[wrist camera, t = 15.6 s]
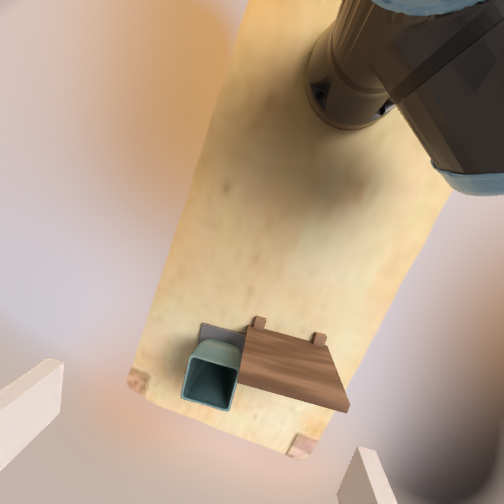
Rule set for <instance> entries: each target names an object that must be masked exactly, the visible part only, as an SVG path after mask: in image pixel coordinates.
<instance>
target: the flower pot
mask: <svg viewBox="0 0 504 504" xmlns="http://www.w3.org/2000/svg"><path fill="white" fill-rule="evenodd" d="M240 363H241V352H240V350H239V348H238V347H237V346H235V345H233V344H229V343H226V342H222V341H219V340H215V339H206V340H204V341H202V342H201V343H200V344H199V345H198V346H197V347H196V349H195V350H194V351H193V352H192V354H191V355H190V356H189V359H188V364H187V369H186V373H185V378H184V382H183V387H182V391H181V398H183V399H185V400H188V401H192V402H196V403H199V404H203V405H206V406H209V407H212V408H216V409H219V410H222V411H230V408H231V404H232V400H233V396H234V392H235V389H236V385H237V378H238V373H239V368H240Z"/></svg>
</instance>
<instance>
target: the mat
mask: <svg viewBox="0 0 504 504" xmlns="http://www.w3.org/2000/svg"><path fill="white" fill-rule="evenodd" d="M245 338H246V334H242V333H239V332H235V331H231V330H228V329H224V328H220V327H217V326H213V325H209V324H206V323H203V324H202V327H201V332H200V336H199V340H198V345H199V344H200V343H201V342H202V341H204V340H206V339H215V340H219V341H222V342H226V343H229V344H233V345H235V346H237V347H238V348H239V350H240V352H241V358H242V353H243V348H244V343H245ZM198 345H197V346H198Z"/></svg>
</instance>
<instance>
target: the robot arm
mask: <svg viewBox="0 0 504 504" xmlns="http://www.w3.org/2000/svg"><path fill="white" fill-rule="evenodd" d="M306 89H307V95H308V98H309V101H310V104H311V106H312V108H313V109H314V111H315V112H316V114H317V115H318V116H319V117H320V118H321V119H322V120H323V121H325V122H326V123H328V124H329V125H331V126H333V127H336V128H340V129H346V130H354V129H360V128H364V127H367V126H369V125H372V124H374V123H375V122H377V121H378V120H380V119H381V118H383V117H384V116H385V115H386V114H387V113H389V112H390V111H391V110H392V109H393V108H394V107H395V106H396V107H397V108H398V110H399V111H400V113H401V114H402V116H403V117H404V119H405V120H406V122H407V123H408V125H409V126H410V128H411V129H412V131H413V132H414V134H415V135H416V137H417V138H418V140H419V141H420V143H421V144H422V146H423V147H424V149H425V150H426V152H427V153H428V155H429V156H430V158H431V164H432V166H433V168H434V169H436V170H437V171H438V172H439V173H441V175H442V176H443V177H444V179H445V180H446V181H447V183H448V184H449V185H450V186H451V187H452V188H453V189H455V190H457V191H458V192H461V193H463V194H466V195H472V196H498V195H504V0H342V2H341V5H340V8H339V11H338V14H337V17H336V20H335V21H334V22H333V23H332V24H331V25H330V26H329V27H328V28H327V29H326V30H325V32H324V33H323V34H322V36H321V37H320V38H319V40H318V42H317V43H316V45H315V47H314V50H313V52H312V55H311V58H310V61H309V65H308V69H307V75H306ZM63 372H64V362H61V361H58V360H54V359H51V358H47V359H45V360H44V361H42V362H41V363H39V364H38V365H37V366H35V367H34V368H32V369H31V370H29V371H28V372H26V373H25V374H23V375H22V376H20V377H19V378H18V379H16V380H14V381H13V382H12V383H10V384H9V385H7V386H6V387H4V388H3V389H1V390H0V471H1V470H2V469H3V468H4V467H5V466H6V465H7V464H8V463H9V462H10V461H11V460H12V459H13V458H14V457H15V456H16V455H17V454H18V453H19V452H20V451H21V450H22V449H23V448H24V447H26V446H27V445H28V444H29V443H30V442H31V441H32V440H33V438H35V437H36V436H37V435H38V434H39V432H41V431H42V430H43V429H44V428H45V427H46V426H47V425H48V424H49V423H50V422H51V421H52V420H53V419H54V418H55V417H56V416H57V415H58V414H59V413H60V405H61V395H62V383H63ZM337 496H338V502H339V504H397V501H396V499H395V497H394V494H393V492H392V490H391V487H390V485H389V482H388V480H387V478H386V475H385V473H384V470H383V468H382V466H381V464H380V461H379V459H378V456H377V454H376V451H374V450H370V449H367V448H363V447H360V446H357V448H356V450H355V453H354V455H353V457H352V460H351V462H350V464H349V467H348V469H347V471H346V474H345V476H344V478H343V481H342V483H341V485H340V488H339V490H338V492H337Z"/></svg>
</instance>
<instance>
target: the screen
mask: <svg viewBox="0 0 504 504" xmlns="http://www.w3.org/2000/svg"><path fill="white" fill-rule="evenodd" d="M265 323H266V318H262V317H259V316H256V319H255V322H254V326H252V325H248V329H247V333H246V338H245V343H244V348H243V353H242V358H241V363H240V368H239V373H238V378H237V383H240V384H244V385H247V386H251V387H254V388H258V389H261V390H265V391H268V392H272V393H276V394H279V395H283V396H286V397H290V398H293V399H297V400H301V401H304V402H308V403H311V404H315V405H318V406H322V407H325V408H329V409H333V410H336V411H340V412H344V413H347V411H348V409H349V406H350V403H349V401H348V398H347V396H346V393H345V390H344V388H343V385H342V383H341V380H340V377H339V375H338V372H337V370H336V367H335V365H334V362H333V359H332V357H331V354H330V352H329V349H328V347H327V346H325V345H324V344H325V342H326V339H327V336H326V335H325V334H321V333H318V332H316V333H315V336H314V339H313V342H311V341H307V340H303V339H300V338H296V337H292V336H289V335H285V334H281V333H278V332H274V331H270V330H267V329H264V326H265Z"/></svg>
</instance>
